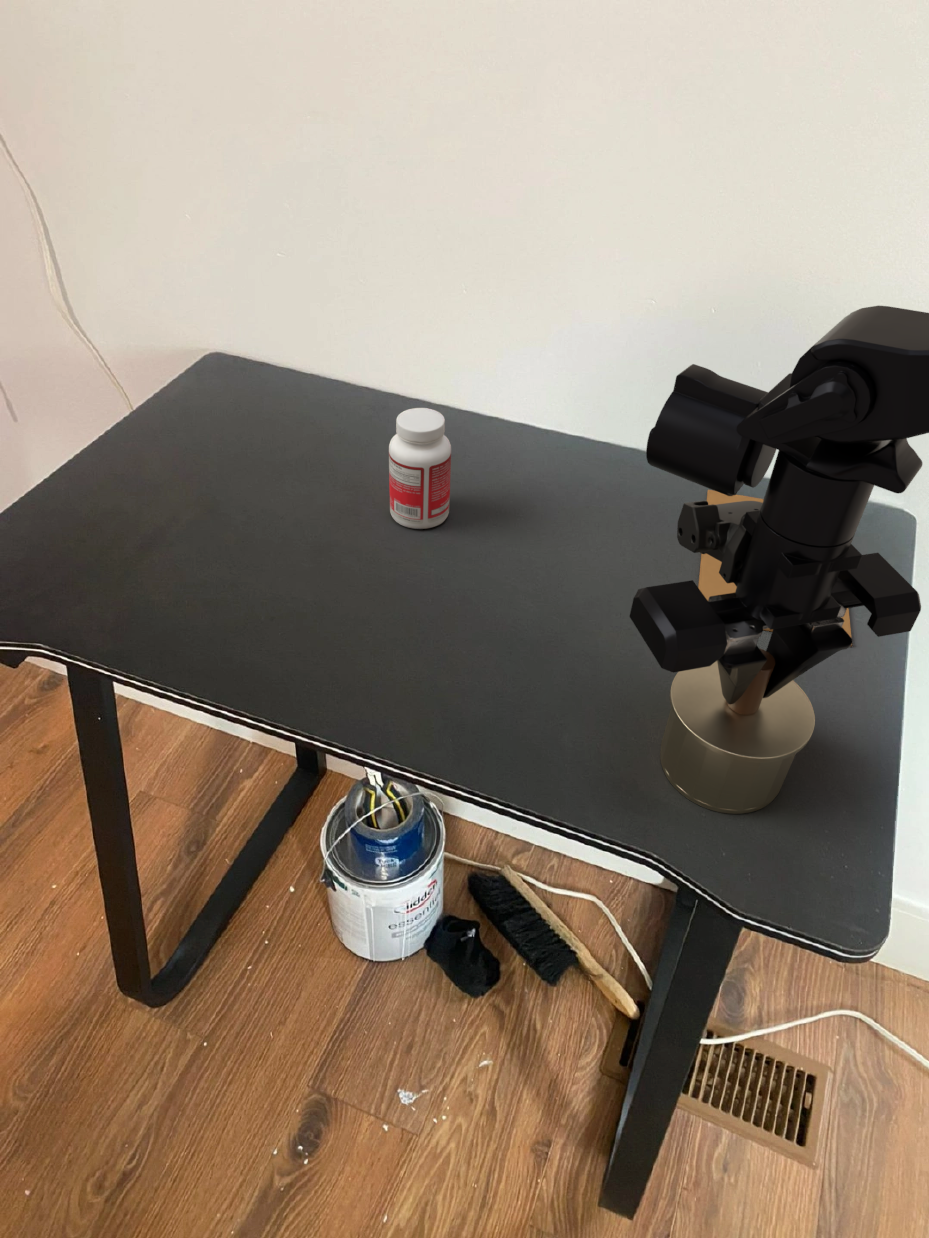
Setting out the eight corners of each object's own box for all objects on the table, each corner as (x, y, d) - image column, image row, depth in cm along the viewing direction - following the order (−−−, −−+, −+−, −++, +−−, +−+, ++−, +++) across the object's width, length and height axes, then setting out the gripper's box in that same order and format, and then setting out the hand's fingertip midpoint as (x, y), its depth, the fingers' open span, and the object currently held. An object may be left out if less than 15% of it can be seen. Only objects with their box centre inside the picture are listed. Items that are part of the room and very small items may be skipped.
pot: (744, 711, 76) (764, 655, 72) (805, 800, 70) (831, 743, 65) (640, 731, 74) (655, 674, 70) (693, 825, 67) (712, 768, 63)
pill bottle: (443, 495, 98) (446, 402, 91) (454, 528, 94) (458, 433, 87) (385, 499, 97) (384, 405, 90) (393, 533, 93) (393, 437, 85)
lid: (765, 655, 73) (784, 601, 69) (839, 753, 65) (865, 698, 62) (645, 676, 70) (658, 621, 67) (707, 780, 63) (726, 725, 59)
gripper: (862, 439, 64) (798, 608, 75) (616, 467, 60) (584, 642, 70) (967, 530, 56) (880, 705, 67) (692, 570, 52) (644, 751, 62)
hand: (744, 696), depth 67 cm, fingers closed on lid, 2 cm apart
